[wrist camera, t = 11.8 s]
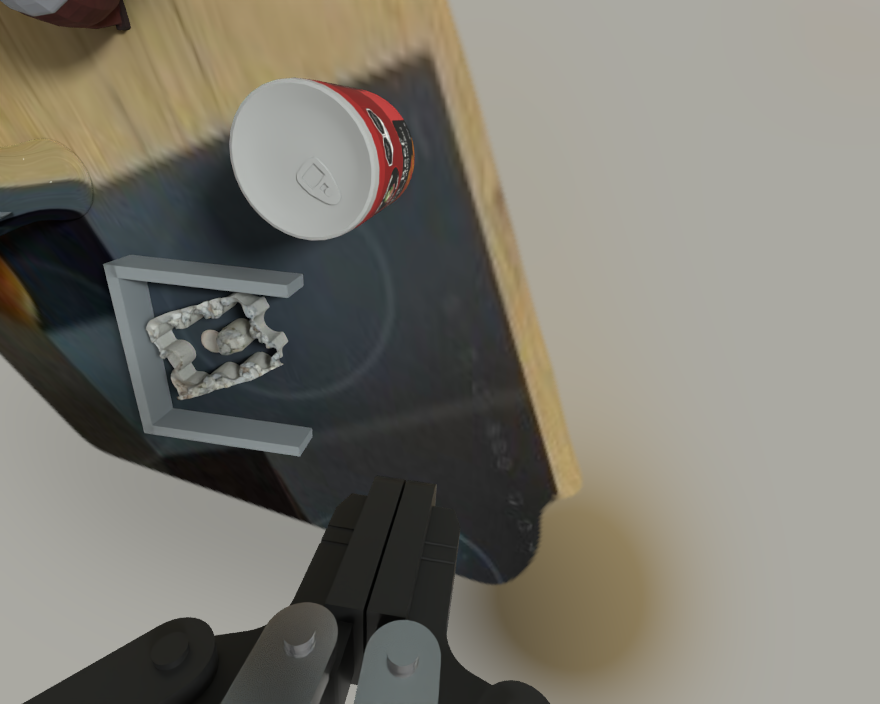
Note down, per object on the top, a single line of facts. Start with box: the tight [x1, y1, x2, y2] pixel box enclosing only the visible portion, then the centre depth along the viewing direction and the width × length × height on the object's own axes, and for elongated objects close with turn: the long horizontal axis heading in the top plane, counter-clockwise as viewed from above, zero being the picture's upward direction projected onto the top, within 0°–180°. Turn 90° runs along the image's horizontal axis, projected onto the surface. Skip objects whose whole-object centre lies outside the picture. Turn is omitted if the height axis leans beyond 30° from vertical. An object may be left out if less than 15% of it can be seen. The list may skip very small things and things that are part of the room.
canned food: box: [229, 78, 414, 240], centre depth 30 cm, size 8×8×11 cm
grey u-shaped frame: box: [103, 255, 312, 456], centre depth 42 cm, size 16×15×3 cm
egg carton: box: [146, 292, 288, 400], centre depth 41 cm, size 11×8×4 cm
